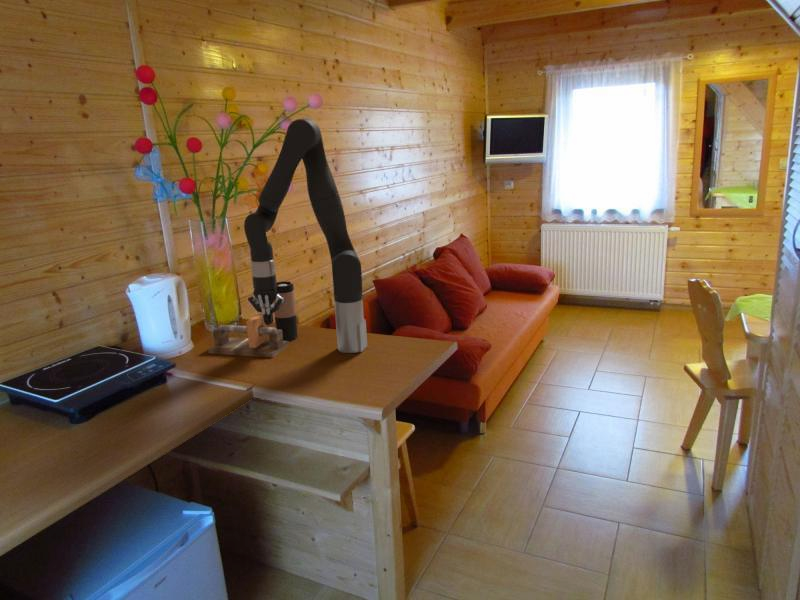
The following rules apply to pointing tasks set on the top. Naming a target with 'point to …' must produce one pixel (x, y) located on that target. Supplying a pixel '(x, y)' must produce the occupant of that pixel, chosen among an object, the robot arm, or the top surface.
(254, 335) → the light wood square slab
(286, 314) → the travel mug
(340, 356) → the top surface
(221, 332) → the rod stand
